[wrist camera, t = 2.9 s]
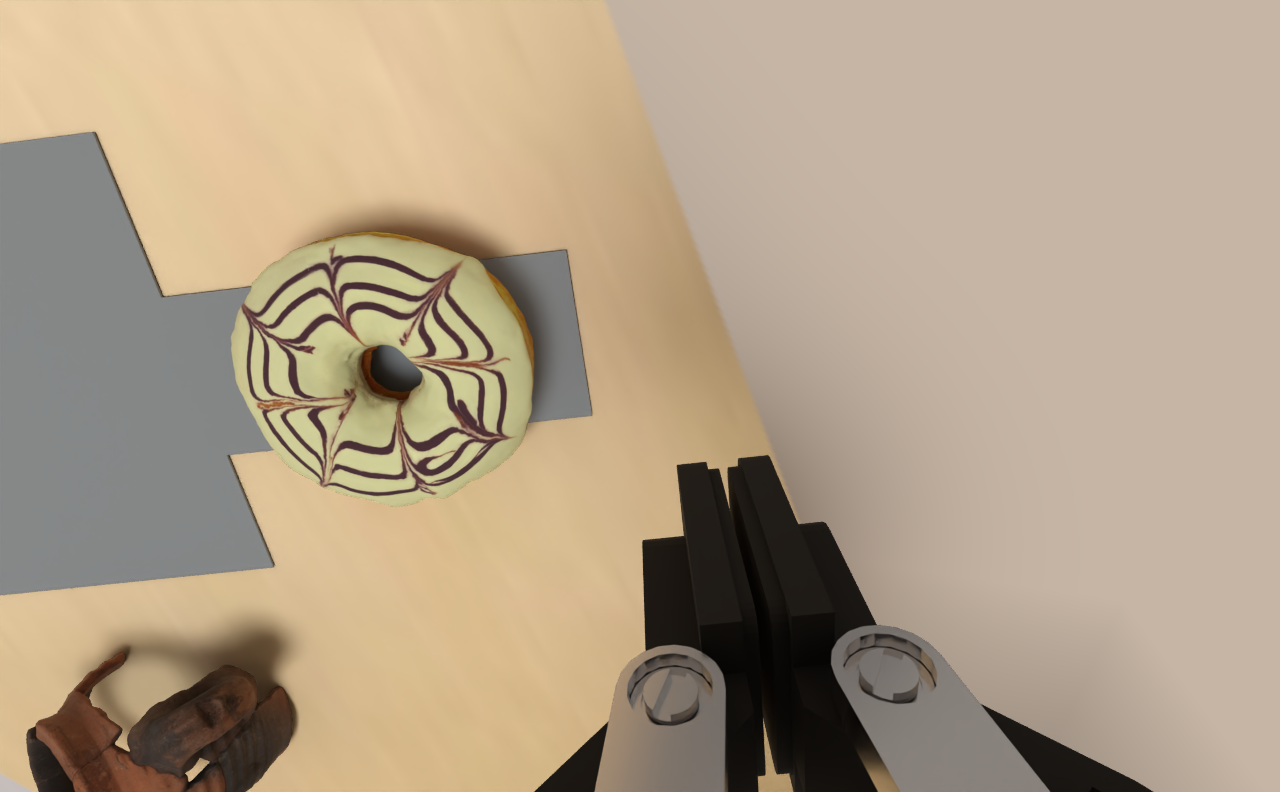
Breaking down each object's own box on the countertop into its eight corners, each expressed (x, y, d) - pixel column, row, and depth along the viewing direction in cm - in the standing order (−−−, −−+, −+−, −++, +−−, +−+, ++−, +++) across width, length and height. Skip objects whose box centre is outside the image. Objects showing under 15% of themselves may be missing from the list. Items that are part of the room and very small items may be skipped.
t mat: (539, 76, 22) (538, 75, 22) (610, 531, 29) (610, 533, 29) (-277, 179, 23) (-281, 179, 23) (-10, 594, 30) (-12, 596, 30)
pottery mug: (268, 782, 36) (92, 913, 29) (186, 644, 37) (0, 738, 30) (349, 716, 30) (151, 862, 23) (248, 553, 31) (32, 646, 24)
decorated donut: (568, 444, 27) (559, 490, 24) (334, 488, 28) (292, 539, 24) (500, 199, 23) (477, 210, 20) (229, 257, 24) (160, 279, 20)
